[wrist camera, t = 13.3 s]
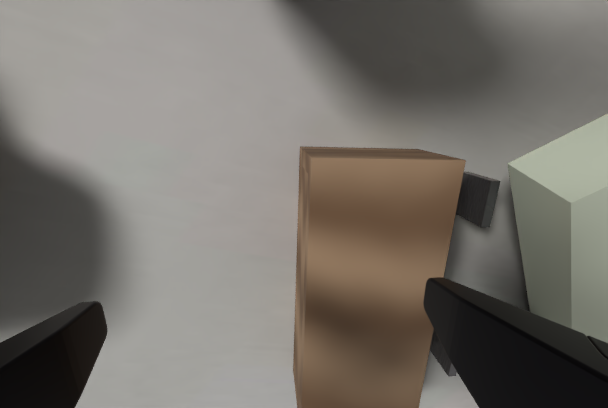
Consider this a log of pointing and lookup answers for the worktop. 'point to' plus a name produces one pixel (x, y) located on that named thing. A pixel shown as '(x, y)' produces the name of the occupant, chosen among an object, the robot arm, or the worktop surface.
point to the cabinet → (374, 269)
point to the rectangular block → (566, 227)
